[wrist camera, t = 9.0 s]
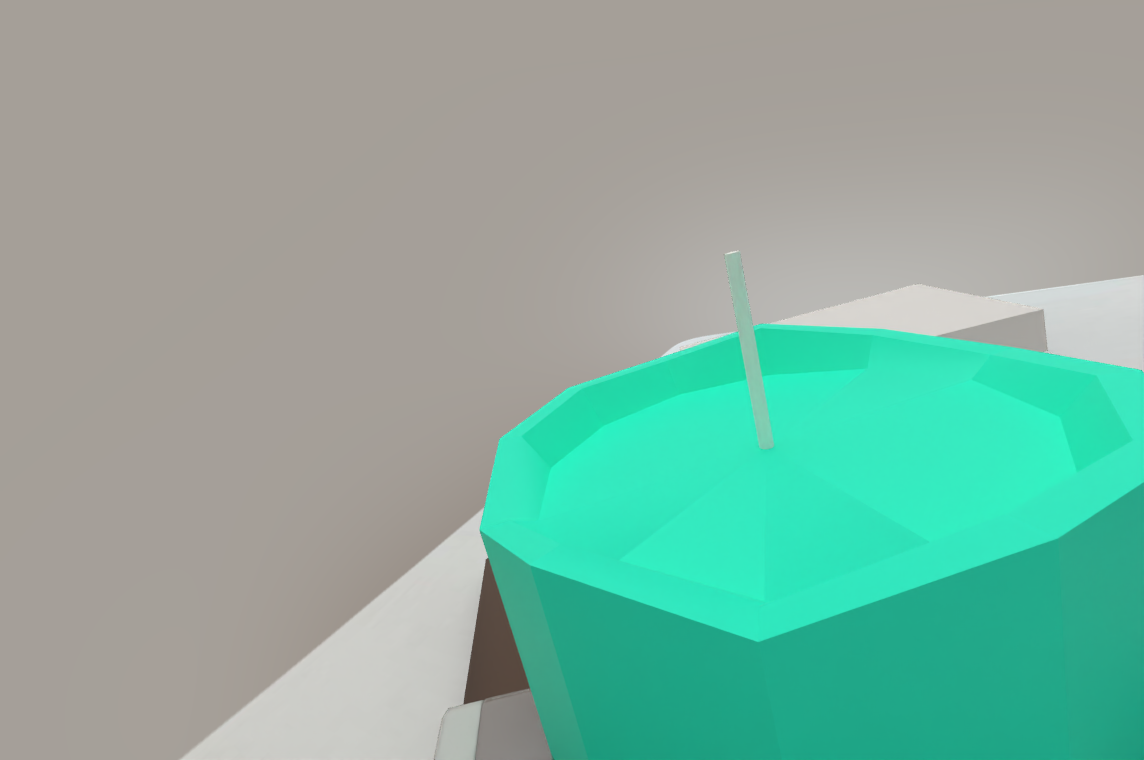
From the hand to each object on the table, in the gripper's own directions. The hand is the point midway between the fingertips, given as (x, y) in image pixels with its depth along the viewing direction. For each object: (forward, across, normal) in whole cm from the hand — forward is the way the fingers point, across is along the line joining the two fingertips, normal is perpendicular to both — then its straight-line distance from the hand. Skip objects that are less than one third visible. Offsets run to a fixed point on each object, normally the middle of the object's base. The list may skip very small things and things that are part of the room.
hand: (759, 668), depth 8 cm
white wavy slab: (+34, -17, +9) cm, 39 cm away
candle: (-1, 0, +7) cm, 7 cm away
